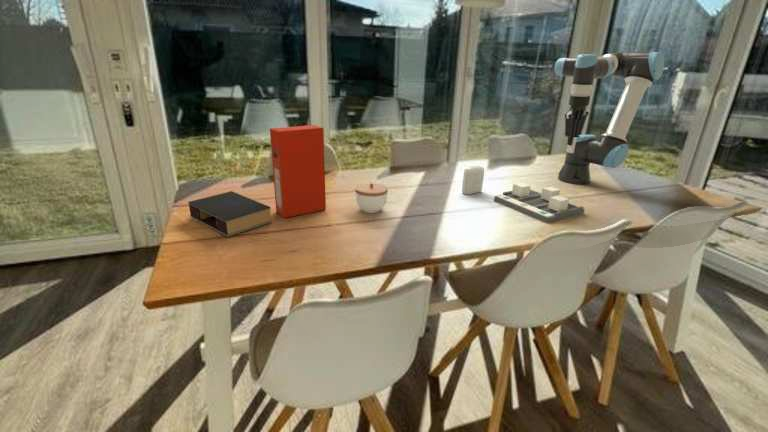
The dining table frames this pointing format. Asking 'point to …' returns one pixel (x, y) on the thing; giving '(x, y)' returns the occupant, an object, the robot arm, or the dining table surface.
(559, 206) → the tab
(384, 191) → the lidded bowl
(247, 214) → the book
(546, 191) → the middle tab
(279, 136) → the file binder
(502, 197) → the dark grey slotted tray
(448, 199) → the dining table surface
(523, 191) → the tab
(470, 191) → the photo printer
